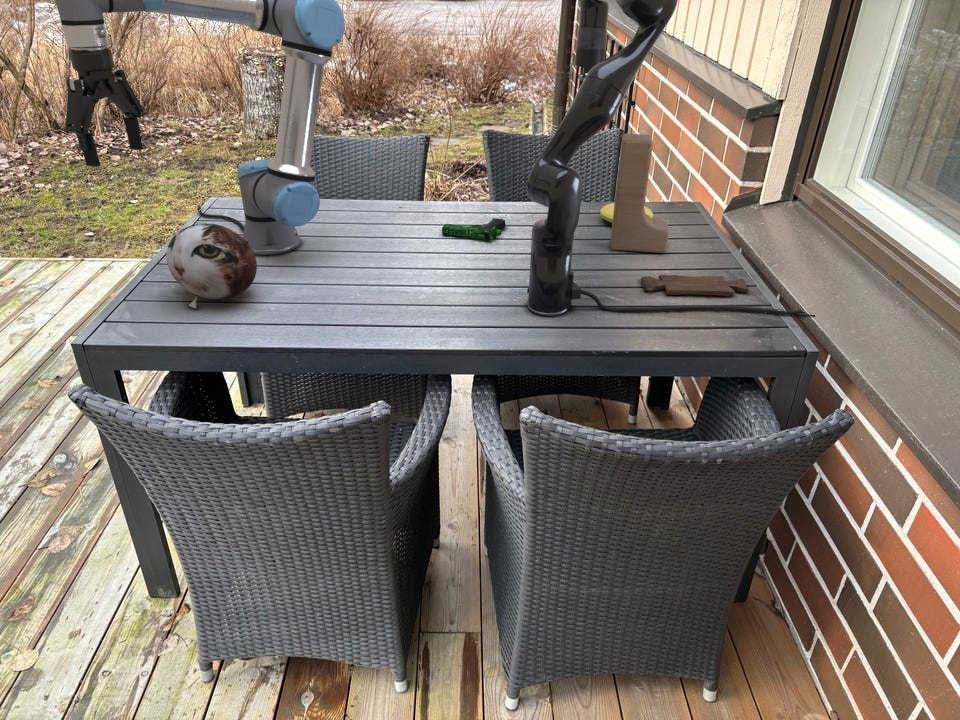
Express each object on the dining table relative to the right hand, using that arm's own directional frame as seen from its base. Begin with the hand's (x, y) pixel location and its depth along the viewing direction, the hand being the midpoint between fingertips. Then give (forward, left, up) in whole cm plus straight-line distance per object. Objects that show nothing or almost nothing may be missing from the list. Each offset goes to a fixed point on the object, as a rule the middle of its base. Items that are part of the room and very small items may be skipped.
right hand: (585, 115), depth 189 cm
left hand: (+113, +14, -1) cm, 114 cm away
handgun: (+27, -10, -34) cm, 44 cm away
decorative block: (-13, +13, -34) cm, 38 cm away
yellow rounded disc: (-19, -7, -34) cm, 39 cm away
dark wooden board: (-15, +40, -34) cm, 55 cm away
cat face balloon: (+98, +16, -34) cm, 105 cm away
